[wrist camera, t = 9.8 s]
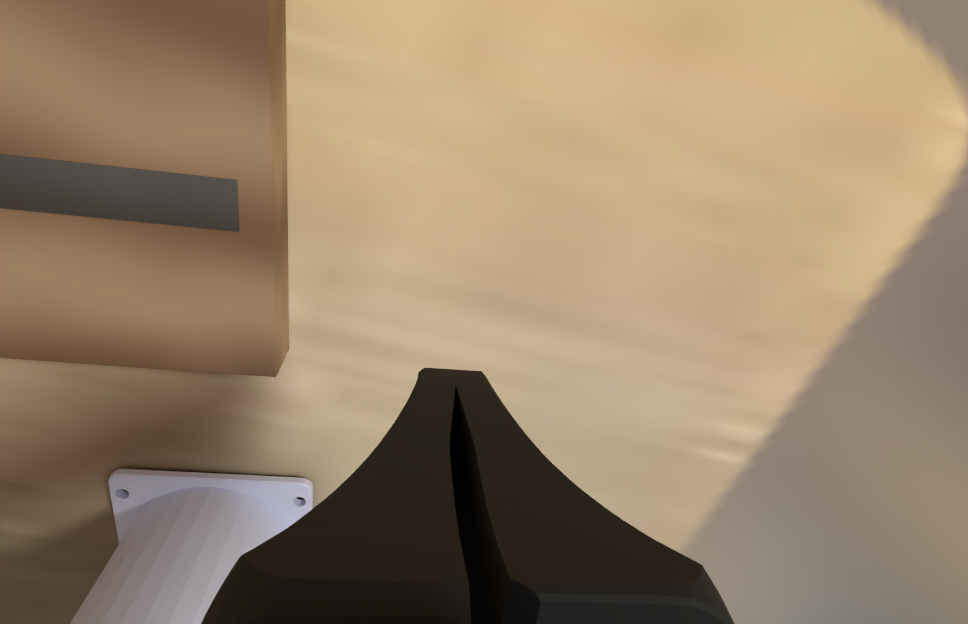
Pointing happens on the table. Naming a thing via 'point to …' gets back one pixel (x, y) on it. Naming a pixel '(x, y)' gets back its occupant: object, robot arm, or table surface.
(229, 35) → the fader console
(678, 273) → the table surface
